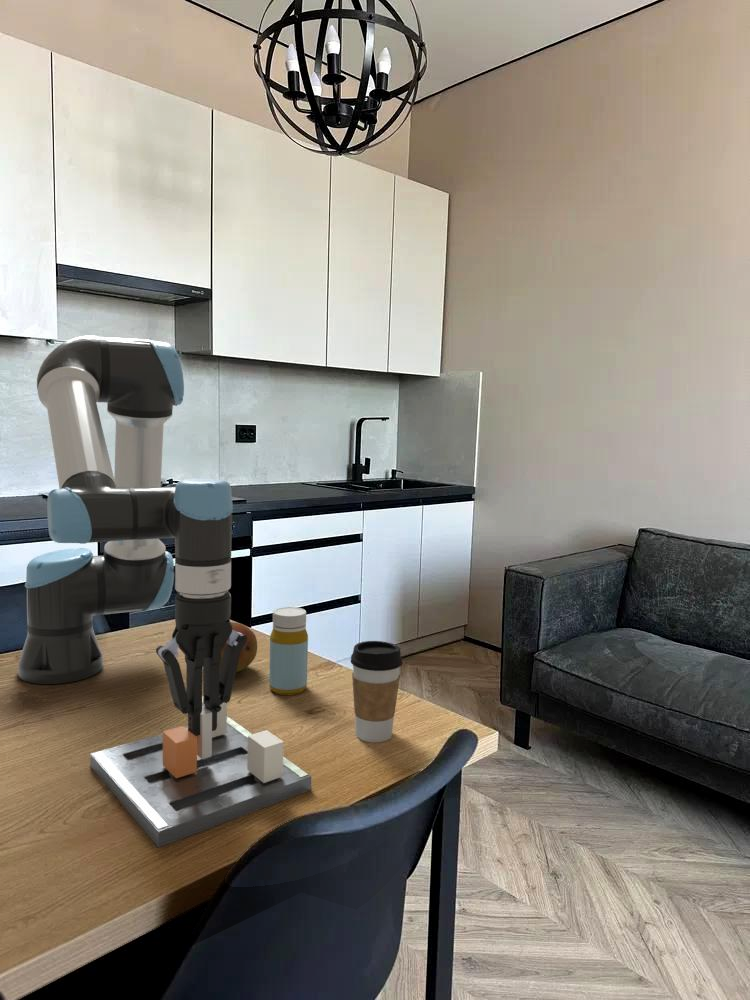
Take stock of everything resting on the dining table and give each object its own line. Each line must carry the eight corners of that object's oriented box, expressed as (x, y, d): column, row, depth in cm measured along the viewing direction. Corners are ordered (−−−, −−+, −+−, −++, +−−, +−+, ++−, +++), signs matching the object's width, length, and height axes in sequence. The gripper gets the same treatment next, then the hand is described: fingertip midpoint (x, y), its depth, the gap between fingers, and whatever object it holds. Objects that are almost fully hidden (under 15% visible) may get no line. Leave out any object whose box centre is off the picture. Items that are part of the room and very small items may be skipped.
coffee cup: (362, 750, 110) (365, 657, 109) (339, 728, 118) (342, 640, 116) (408, 740, 114) (412, 650, 112) (384, 719, 122) (387, 635, 120)
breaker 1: (195, 734, 111) (195, 697, 110) (213, 729, 113) (213, 693, 112) (208, 744, 108) (208, 707, 107) (226, 739, 110) (226, 702, 109)
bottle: (262, 692, 132) (263, 613, 130) (281, 679, 138) (282, 604, 136) (295, 698, 129) (297, 618, 127) (313, 685, 136) (315, 609, 134)
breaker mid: (162, 771, 99) (162, 731, 99) (182, 765, 101) (182, 725, 100) (176, 785, 96) (176, 743, 95) (196, 778, 98) (196, 737, 97)
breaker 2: (247, 776, 99) (247, 735, 98) (265, 769, 101) (266, 729, 100) (263, 789, 96) (264, 747, 95) (282, 782, 97) (283, 741, 97)
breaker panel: (90, 766, 103) (90, 752, 102) (227, 727, 117) (227, 715, 116) (158, 847, 84) (158, 831, 84) (311, 789, 99) (311, 775, 98)
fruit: (228, 687, 134) (228, 635, 132) (181, 672, 140) (181, 623, 139) (269, 669, 143) (269, 621, 142) (223, 656, 150) (223, 610, 149)
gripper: (170, 605, 91) (170, 779, 94) (258, 591, 99) (256, 751, 102) (146, 592, 96) (147, 757, 99) (231, 580, 105) (230, 732, 108)
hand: (202, 754), depth 101 cm, fingers closed
